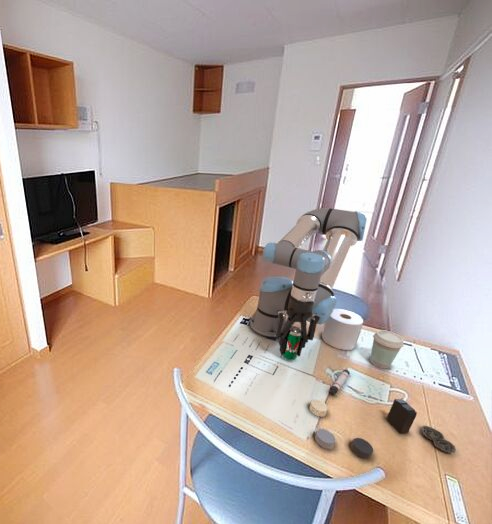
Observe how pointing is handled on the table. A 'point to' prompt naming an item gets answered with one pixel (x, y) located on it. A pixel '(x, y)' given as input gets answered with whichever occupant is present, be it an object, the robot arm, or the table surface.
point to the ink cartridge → (401, 415)
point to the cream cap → (318, 408)
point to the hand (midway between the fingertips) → (289, 352)
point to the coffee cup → (385, 348)
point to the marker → (339, 382)
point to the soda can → (292, 343)
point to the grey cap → (325, 438)
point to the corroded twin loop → (438, 439)
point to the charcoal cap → (362, 448)
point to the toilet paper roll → (342, 329)
